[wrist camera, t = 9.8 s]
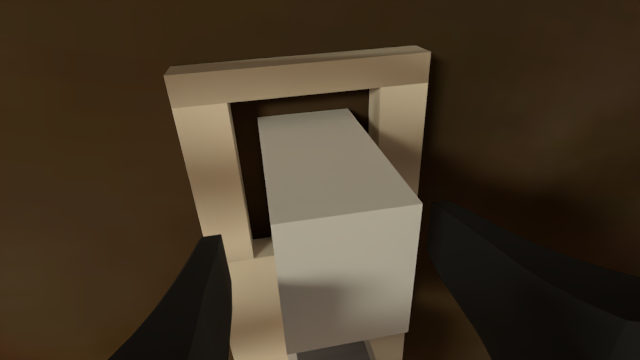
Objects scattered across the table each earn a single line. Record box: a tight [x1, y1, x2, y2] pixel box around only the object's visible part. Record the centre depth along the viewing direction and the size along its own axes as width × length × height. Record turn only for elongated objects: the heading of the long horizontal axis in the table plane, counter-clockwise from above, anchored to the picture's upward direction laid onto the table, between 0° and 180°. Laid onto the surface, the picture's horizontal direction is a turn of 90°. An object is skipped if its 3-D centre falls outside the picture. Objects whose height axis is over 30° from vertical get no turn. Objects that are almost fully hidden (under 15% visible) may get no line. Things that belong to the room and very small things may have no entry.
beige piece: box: [164, 45, 431, 360], centre depth 16 cm, size 20×10×10 cm, turn 3°
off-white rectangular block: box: [257, 109, 423, 355], centre depth 14 cm, size 6×4×8 cm
